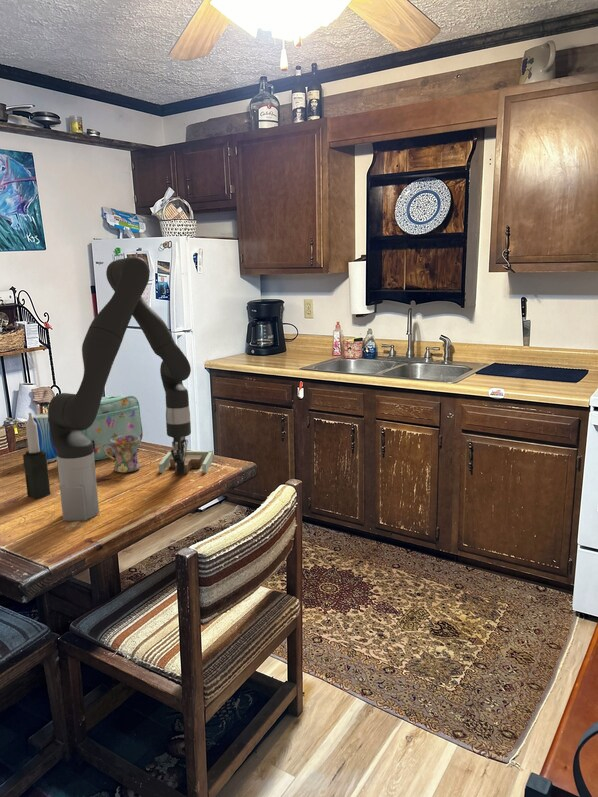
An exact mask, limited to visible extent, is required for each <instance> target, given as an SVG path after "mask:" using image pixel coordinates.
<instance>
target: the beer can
mask: <svg viewBox="0 0 598 797" xmlns="http://www.w3.org/2000/svg"><path fill="white" fill-rule="evenodd" d="M32 417H33V420H34V421H35V422H36V423H37V430H38V440H39V449H40V450H43V452H46V457H47V462H49V463H52V461H53V462H56V461H57V454H56V449H55V448H54V446H53V444H52V440H51V433H50V427H49V421H48V412H45V413H39V414H34V415H33V416H32ZM55 460H56V461H55Z"/></svg>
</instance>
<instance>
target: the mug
mask: <svg viewBox="0 0 598 797" xmlns="http://www.w3.org/2000/svg"><path fill="white" fill-rule="evenodd" d="M139 439H140V438H139V437H138V436H133V435H125V436H118V437H115V438H112V439H111V440H110V442H111V444H112V445H111V444H104V445H103V447H102V449H103V452H104V453H105V454H106V455H107V456H108V458H110V459H112V460H113V461H112V462H113V463H114V466H113V470H114V471H115V472H118V473H123V474H125V473H132V472H135V471H137V470H139V469H140V468H141V464H140V462H139V461H138V453H137V452H138V446H139V445H138V442H139ZM105 445H110V446H111V447H112V448H113V450H114V451H115V455H114V456H115V457H113V456H109V455H108V454H107V453H106V452H105V450H104V446H105Z"/></svg>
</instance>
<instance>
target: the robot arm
mask: <svg viewBox="0 0 598 797" xmlns="http://www.w3.org/2000/svg"><path fill="white" fill-rule="evenodd" d="M150 273H151V272H150V268H149V265H148V263H147V262H146V260H144V259H143V258H142V257H139V256H129V257H123V258H120V259H116V260H113V261H111V262H110V263H109V264H108V265H107V267H106V274H105V276H106V279H107V280H106V281H107V282H108V283H109V285H110V288H112V290H113V291H114V293H113V294H112V296H111V298H110V299H109V301H108V302H107V303H106V304H105V305H104V306H103V307H102V309H101V310H100V311H99V312H98V314H97V315H96V316H94V318H93V319H92V321H91V323H90V325H89V327H88V329H87V331H86V334H85V337H84V339H83V342H82V346H81V354H82V356H81V357H82V362H83V376H82V381H81V383H80V385H79V388H78V390H77V391H76V393H68V392H61V393H58V394H56V395H54V396H53V397H52V398H51V399H50V402H49V404H48V408H47V413H48V421H49V427H50V433H51V440H52V444H53V446H54V448H55V449H56V454H57V460H56V462H57V472H58V482H59V492H60V503H61V511H62V512H61V513H62V521H68V522H70V521H72V522H73V521H77V522H78V521H87V520H88V519H89V520H90V519H91V518H93V517H95V516H97V515H98V514H99V512H100V507H99V497H98V488H97V487H98V486H97V474H96V465H95V464H96V460H94V449H93V443H92V441H91V440H90V439H88V438H87V437H86V436H85V435H84V434H83V433H82V430H86V429H88V428H89V427H90V426H91V425H92V424H93V422H94V421H95V418H96V416H97V413H98V410H99V406H100V403H101V399H102V397H103V396H104V390H105V388H106V384H107V381H108V378H109V376H110V373H111V370H112V368H113V364H114V362H115V359H116V357H117V355H118V353H119V350H120V347H121V346H122V342H123V339H124V336H125V333H126V331H127V329H128V326H129V324H130V322H131V319H132V317H133V318H134V320H135V321H136V323H137V324H138V326H139V327H140V328H139V329H141V331H142V333H143V335H144V336H145V338H146V340H147V342H148V344H149V346H150V348H151V350H152V351H153V353H154V354H155V355H156V356H158V357H159V358H160V359H161V363H160V367H159V371H160V372H159V373H160V379H161V382H162V386H163V390H164V392H165V423H166V424H165V427H166V435H167V436H168V437H171V438H172V441H171V447H172V449H171V450H170V451H171V453H172V456H173V459H174V462H177V473H184V472H185V463H184V461H185V457H186V453H187V451H188V443H189V441H188V439H186V437H188V436H190V435H191V433H192V429H191V428H192V425H191V424H192V423H191V411H190V403H189V402H190V401H189V399H190V398H189V391H188V389H187V387H185V386H184V383H183V381H186V380H187V379H188V378H189V377H190V374H191V371H192V370H191V363H190V362H189V360H188V357H187V356H186V354H184V352H183V350H181V348H180V347H179V345H177V343H176V341H175V339H174V337H173V335H172V333H171V332H170V329H169V328H168V325H167V324H166V322H165V321H164V320H163V319H162V317H161V316H160V315H159V314H158V313H157V312H156V311H155V310H154V309H153V308H152V307H151V306H150V305H149V304H148V303H147V301H146V300H145V299H144V298H143V297H142V296H143V294H144V292H145V290H146V288H147V286H148V284H149V281H150V275H151V274H150Z"/></svg>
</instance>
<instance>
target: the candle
mask: <svg viewBox="0 0 598 797" xmlns="http://www.w3.org/2000/svg"><path fill="white" fill-rule="evenodd" d="M32 414H33V413H32V412H28V417H27V418H28V419H27V422H26V424H25V431H26V439H27V440H26V441H27V446H28V447H27V449H28V450H27V451H25V453H23V454H22V458H23V460H22V461H23V467H24V476H25V485H26V492H27V497H28V498H31V499H36V500H38V499H42V498H44V497H46V496H49V495H51V486H50V477H49V470H48V469H49V468H48V463H47V457H46V452H43V450H40V449H39V440H38V430H37V423H36V422H35V421H34V420H33V416H32Z"/></svg>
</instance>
